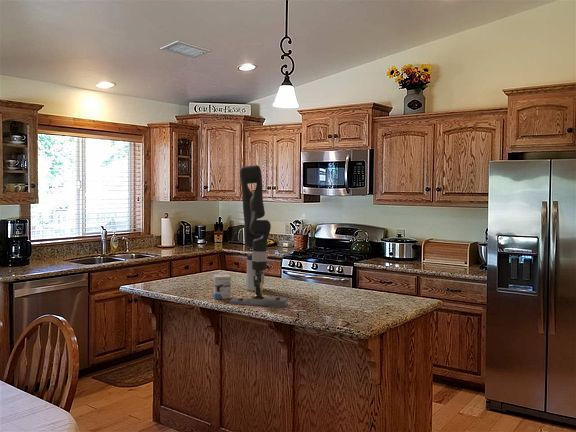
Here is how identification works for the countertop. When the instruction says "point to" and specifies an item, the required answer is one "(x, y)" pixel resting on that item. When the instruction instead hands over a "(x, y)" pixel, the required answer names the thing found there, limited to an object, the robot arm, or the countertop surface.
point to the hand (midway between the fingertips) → (258, 293)
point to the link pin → (260, 291)
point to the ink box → (222, 287)
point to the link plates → (261, 301)
